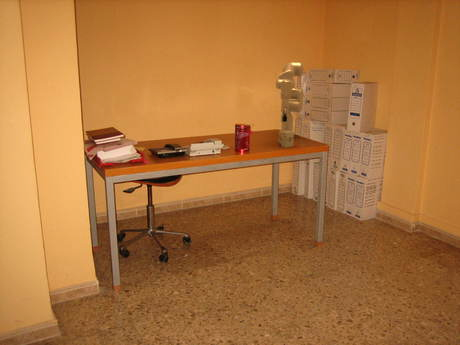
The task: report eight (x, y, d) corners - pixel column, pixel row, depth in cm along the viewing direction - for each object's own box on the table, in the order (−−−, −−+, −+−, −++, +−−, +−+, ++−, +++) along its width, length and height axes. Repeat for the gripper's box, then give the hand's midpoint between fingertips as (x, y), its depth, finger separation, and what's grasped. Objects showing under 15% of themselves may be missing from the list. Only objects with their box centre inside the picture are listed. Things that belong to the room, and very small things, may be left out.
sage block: (280, 121, 335) (281, 114, 333) (287, 121, 334) (287, 114, 333) (281, 122, 330) (281, 115, 328) (287, 122, 330) (288, 115, 328)
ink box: (277, 146, 337) (278, 130, 334) (285, 144, 342) (286, 129, 339) (286, 148, 331) (286, 132, 327) (293, 146, 336) (294, 131, 333)
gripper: (280, 95, 335) (278, 119, 340) (281, 98, 319) (280, 122, 324) (289, 96, 335) (288, 119, 340) (291, 98, 319) (290, 123, 324)
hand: (284, 120), depth 332 cm, fingers closed on sage block, 5 cm apart
